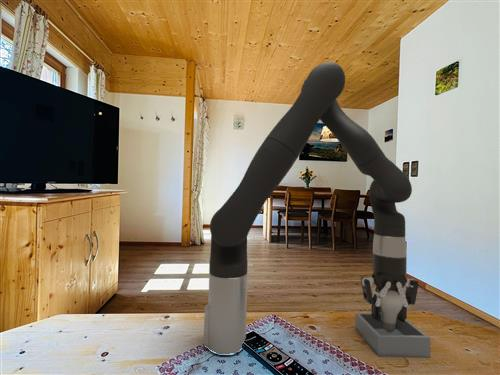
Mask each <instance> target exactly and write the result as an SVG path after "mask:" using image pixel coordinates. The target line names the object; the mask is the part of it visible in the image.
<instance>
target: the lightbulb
mask: <svg viewBox="0 0 500 375" xmlns="http://www.w3.org/2000/svg"><path fill="white" fill-rule="evenodd" d="M380 292H381V291H378V293H380ZM376 298H377V295H376ZM402 306H403V300H402V298H401V296H400V295H399V293H398V292H396V291H392V290H390V291H387V293H386V296H385V297H384V298H383V299H382V298H381V304H380V307H381V315H382V320H383V328H384V329H385V330H386V331H387V332H389V333H391V332H393V331H394V330H395V323H396V318H397V315H398V313H399V312H400V310H401V308H402Z"/></svg>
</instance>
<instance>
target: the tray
mask: <svg viewBox="0 0 500 375" xmlns="http://www.w3.org/2000/svg"><path fill="white" fill-rule="evenodd" d="M354 315H355V322H354V323H355V325H354V326H355V328H354V330H355V331H356V332H357V333H358V334H359V335H360V336H361V338H362V339H363V340H364V341H365V342H366V343H367V345H368V346H369V347H370V348H371V349H372V351H373V352H374V353H375V354H376V355H377V357H383V358H384V357H387V358H388V357H389V358H391V357H392V358H399V357H400V358H431V337H430V336H428V334H426V333H425V332H424V331H422V330H420V329H419V327H417V326H416V325H414V324H413V323H411V321H409V320H408V319H407V318H406V319H405V322H401V321H400V320H398V319H397V318H396V323H395V330H394V331H393V332H391V333H389V332H387V331H386V330H385V329H384V328H383V320H382V315H381V321H376V320H375V319H374V317H373V316H372V314H371V312H355V314H354Z"/></svg>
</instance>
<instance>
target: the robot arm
mask: <svg viewBox="0 0 500 375" xmlns="http://www.w3.org/2000/svg"><path fill="white" fill-rule="evenodd" d="M345 85H346V75H345V71H344V69H343V68H342V66H341V65H339V64H338V63H336V62H333V61H327V62H323V63H320V64H318V65H317V66H315V67H314V68H313V69H312V70H311V71H310V72H309V73H308V75H307V77H306V79H305V80H304V82H303V84H302V86H301V89H300V93H299V95H298V96H297V98H296V99H295V101H294V103H293V104H292V105H291V107H290V108H289V109H288V110H287V112H286V113H285V114H284V115H282V117H281V119H280V120H279V121H278V122H277V123H276V125H274V127H273V128H272V130H271V131H270V132H269V134H267V135H266V137H265V138H264V140H263V141H262V143H261V145H260V146H259V147H258V149H257V151H256V153H255V154H254V155H253V157H252V160H251V161H250V163H249V165H248V167H247V168H246V171H245V174H244V176H243V178H242V179H241V181H240V183H239V184H238V186H237V187H236V189H235V190H234V191H233V192H232V194H231V195H230V196H229V198H228V199H227V200H226V202H224V204H222V206H221V207H220V208H219V209H218V210H217V211H216V212H214V214H213V216H212V218H211V219H210V222H209V230H210V231H209V232H210V235H211V237H210V254H209V264H208V265H209V267H208V268H209V269H208V270H209V271H208V272H209V274H208V275H209V276H208V279H209V280H208V303H207V304H206V305H205V306H204V318H203V319H204V320H203V321H204V322H203V326H204V327H203V347H204V346H206V347H208V348H209V349H210V350H212V351H214V352H216V353H222V354H230V353H234V352H237V351H239V350H240V349H241V348H242V344H243V342H244V341H245V339H246V338H247V303H248V302H247V298H248V265H249V264H248V235H249V233H250V230H251V229H252V226H253V225H254V223H255V221H256V219H257V217H258V215H259V213H260V211H261V210H262V208H263V206H264V204H265V203H266V202H267V200H268V199H269V198H270V196H271V195H272V194H273V192H275V191H276V189H277V188H278V186H279V185H280V184H281V182H282V181H283V180H284V178H285V177H286V176H287V174H288V172H290V170H291V168H292V167H293V166H294V164H295V163H296V162H297V160H298V158H299V156H300V155H301V153H302V151H303V149H304V148H305V146H306V145H307V143H308V141H309V139H310V138H311V136H312V133H313V132H314V130H315V128H316V126H317V125H318V123H319V121H320V122H321V123H322V124H323V125H324V126H325V127H326V128H327V129H328V130H329V131H330V132H331V134H332V135H333V136H334V137H335V138H336V139H337V141H338V142H339V144H340V145H341V146H342V147H343V149H344V150H345V152H346V153H347V154H348V156H349V158H350V159H351V160H352V162H353V163H354V165H355V166H356V168H357V169H358V170H359V171H360V173H361V174H363V175H365V176H369V177H370V178H372V180H373V181H371V183H370V186H369V191H368V195H369V201H370V205H371V211H372V214H373V217H374V221H373V224H374V226H373V240H372V270H373V271H372V272H373V273H372V274H371V276H370V277H365V276H361V278H360V284H361V289H362V295H363V299H364V300H365V301H366V302H367V303H368V304H369V305H371V312H370V313H371V314H372V316H373V317H374V319H375V320H376V321H381V307H380V304H381V298H382V299H383V298H384V297H385V296H386V293H387V291H390V290H392V291H396V292H398V293H399V295H400V296H401V298H402V300H403V306H402V308H401V310H400V312H399V313H398V315H397V319H398V320H400V321H401V322H405V319H406V320H407V317H408V316H407V314H408V313H407V312H408V311H407V310H408V309H407V308H408V307H409V305H412V306H414V305H415V304H416V300H417V296H418V289H419V281H417V280H416V279H414V278H411V277H407V276H406V274H407V260H408V259H407V256H408V255H407V253H408V252H407V249H408V248H407V241H406V218H405V215H404V214H402V213H400V212H399V211H398V210H397V206H396V203H397V204H399V203H403V202H405V201H408V199H409V198H410V197H411V195H412V193H413V190H412V189H413V187H412V184H411V180H410V179H409V177H408V176H407V175H406V173H405V172H404V171H403V170H401V168H400V167H399V166H397V165H396V164H395V163H394V162H393V161H392V160H390V159H389V158H388V157H387V156H386V155H385V152H383V150H382V149H381V147H380V146H379V144H378V143H377V141H376V140H375V138H374V137H373V135H371V134H370V133H369V132H368V131H367V130H366V129H365V128H363V127H362V126H360V125H359V124H358V123H356V122H355V121H354V120H352V119H351V117H349V116H348V115H347V114H346V113H345V112H344V110H343V109H342V108H341V106H340V103H338V101H337V99H338V98H339V97H340V95H341V94H342V92H343V91H344V88H345ZM373 284H374V285H375V286H374V288H373V290H372V289H371V288H372V287H373ZM405 286H406V288H405V290H404V287H405ZM378 291H381V292H380V293H378ZM404 291H405V292H404ZM376 295H377V298H376Z"/></svg>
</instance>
